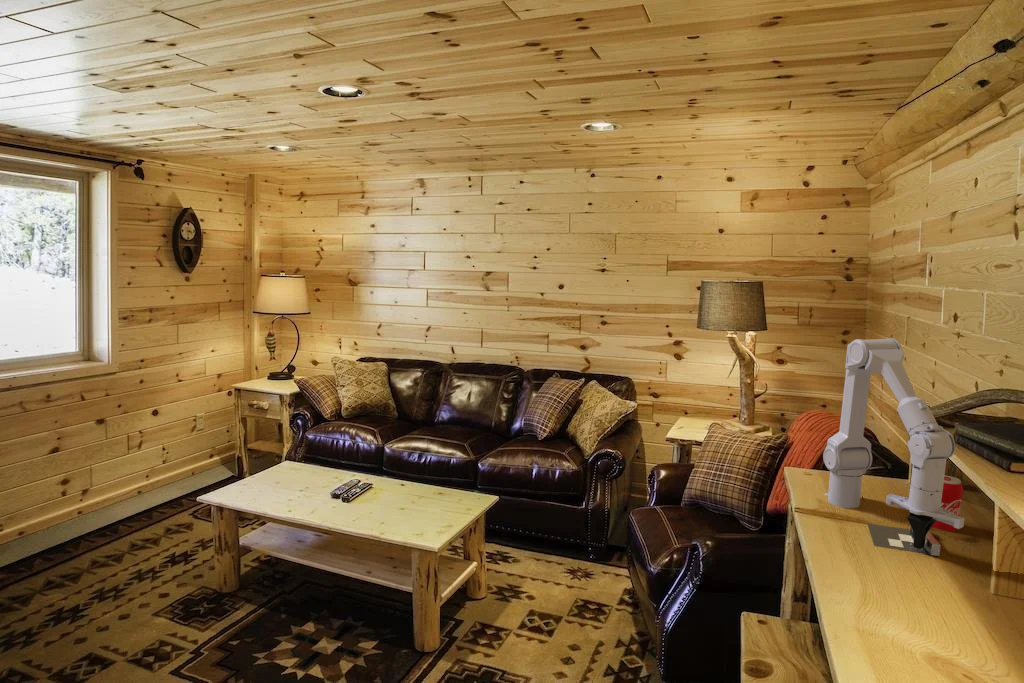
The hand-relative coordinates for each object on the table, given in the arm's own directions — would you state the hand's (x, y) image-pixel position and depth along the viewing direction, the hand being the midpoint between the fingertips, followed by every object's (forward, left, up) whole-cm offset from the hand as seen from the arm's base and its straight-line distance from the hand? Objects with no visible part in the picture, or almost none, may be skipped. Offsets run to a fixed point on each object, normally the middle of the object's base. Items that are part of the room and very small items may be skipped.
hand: (919, 547), depth 139 cm
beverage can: (-16, +7, -2) cm, 18 cm away
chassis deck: (-5, -3, -2) cm, 6 cm away
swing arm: (-4, +2, -1) cm, 4 cm away
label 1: (-2, -4, -1) cm, 5 cm away
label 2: (-5, -2, -1) cm, 6 cm away
